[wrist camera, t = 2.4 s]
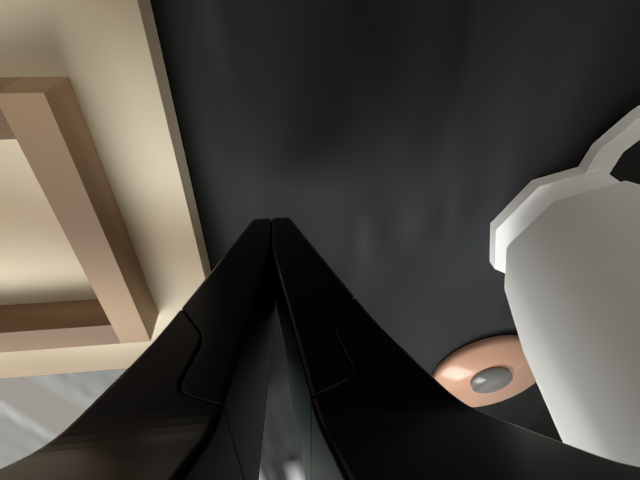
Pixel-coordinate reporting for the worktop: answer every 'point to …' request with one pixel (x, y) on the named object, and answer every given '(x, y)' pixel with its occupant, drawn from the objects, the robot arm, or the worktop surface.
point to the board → (89, 188)
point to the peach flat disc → (486, 371)
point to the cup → (580, 294)
